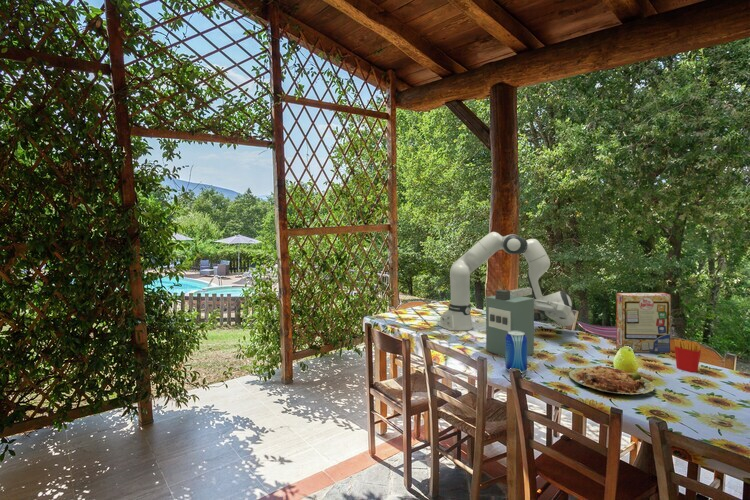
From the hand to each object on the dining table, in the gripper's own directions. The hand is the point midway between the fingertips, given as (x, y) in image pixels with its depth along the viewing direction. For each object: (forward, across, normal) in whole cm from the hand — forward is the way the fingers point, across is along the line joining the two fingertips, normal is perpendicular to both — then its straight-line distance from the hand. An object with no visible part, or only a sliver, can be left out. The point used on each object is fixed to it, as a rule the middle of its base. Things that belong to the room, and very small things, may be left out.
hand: (539, 301), depth 192 cm
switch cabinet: (+11, 0, +30) cm, 32 cm away
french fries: (-23, +56, +12) cm, 62 cm away
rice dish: (+9, +44, +30) cm, 54 cm away
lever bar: (+20, 0, +5) cm, 20 cm away
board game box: (-33, +36, +7) cm, 49 cm away
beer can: (+26, +17, +38) cm, 49 cm away
